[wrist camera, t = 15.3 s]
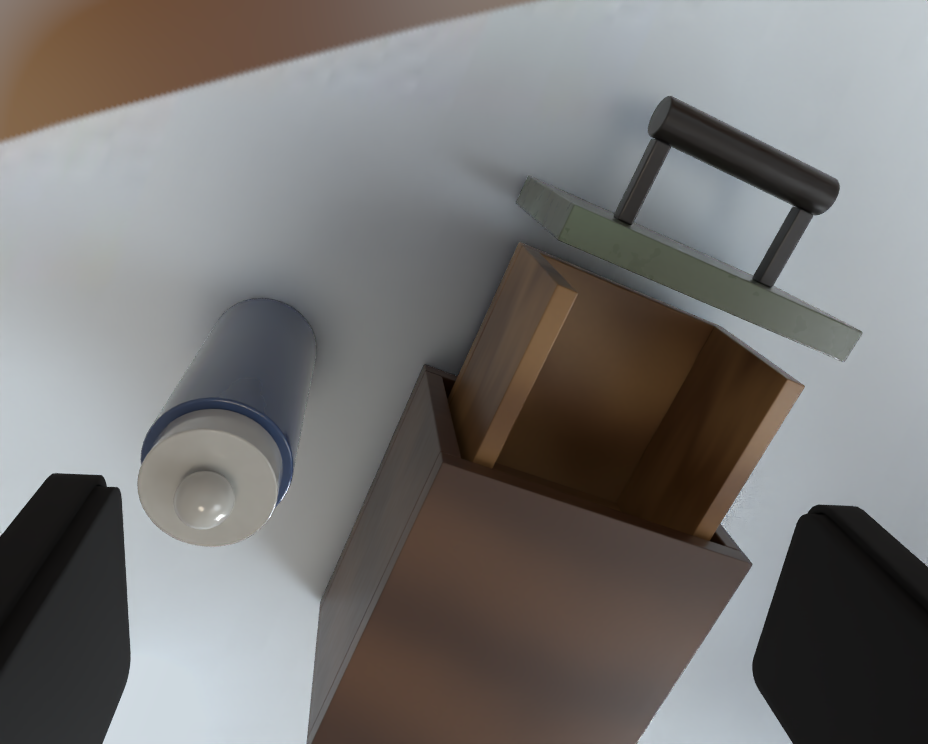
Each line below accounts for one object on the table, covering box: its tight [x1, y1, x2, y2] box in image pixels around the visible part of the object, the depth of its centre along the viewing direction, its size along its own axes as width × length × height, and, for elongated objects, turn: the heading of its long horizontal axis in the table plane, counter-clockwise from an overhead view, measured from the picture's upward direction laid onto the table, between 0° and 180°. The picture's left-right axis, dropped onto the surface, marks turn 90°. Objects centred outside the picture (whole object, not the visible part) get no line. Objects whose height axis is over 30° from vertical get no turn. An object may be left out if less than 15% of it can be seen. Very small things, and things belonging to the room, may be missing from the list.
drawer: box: [447, 96, 862, 541], centre depth 29 cm, size 17×11×7 cm
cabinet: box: [307, 365, 752, 744], centre depth 32 cm, size 14×13×9 cm
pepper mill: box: [137, 298, 317, 547], centre depth 26 cm, size 4×4×13 cm
